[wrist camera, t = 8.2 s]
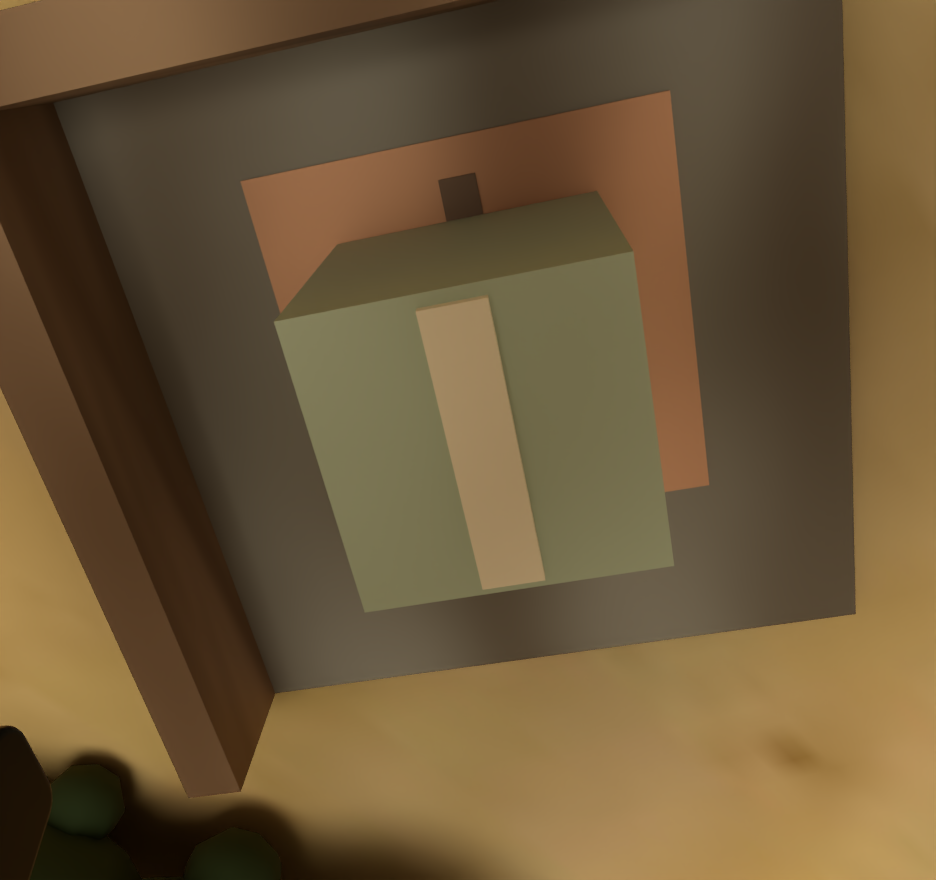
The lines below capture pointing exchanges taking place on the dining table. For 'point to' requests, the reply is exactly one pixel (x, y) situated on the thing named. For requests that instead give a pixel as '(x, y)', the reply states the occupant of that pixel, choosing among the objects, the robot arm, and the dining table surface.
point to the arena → (387, 211)
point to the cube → (482, 404)
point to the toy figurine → (105, 863)
